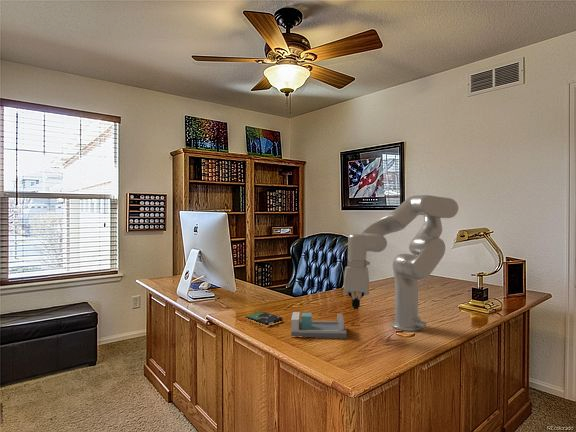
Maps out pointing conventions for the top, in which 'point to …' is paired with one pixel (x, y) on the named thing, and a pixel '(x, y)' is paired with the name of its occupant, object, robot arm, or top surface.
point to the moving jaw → (340, 322)
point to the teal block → (306, 321)
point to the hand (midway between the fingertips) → (355, 308)
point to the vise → (316, 328)
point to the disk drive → (264, 318)
